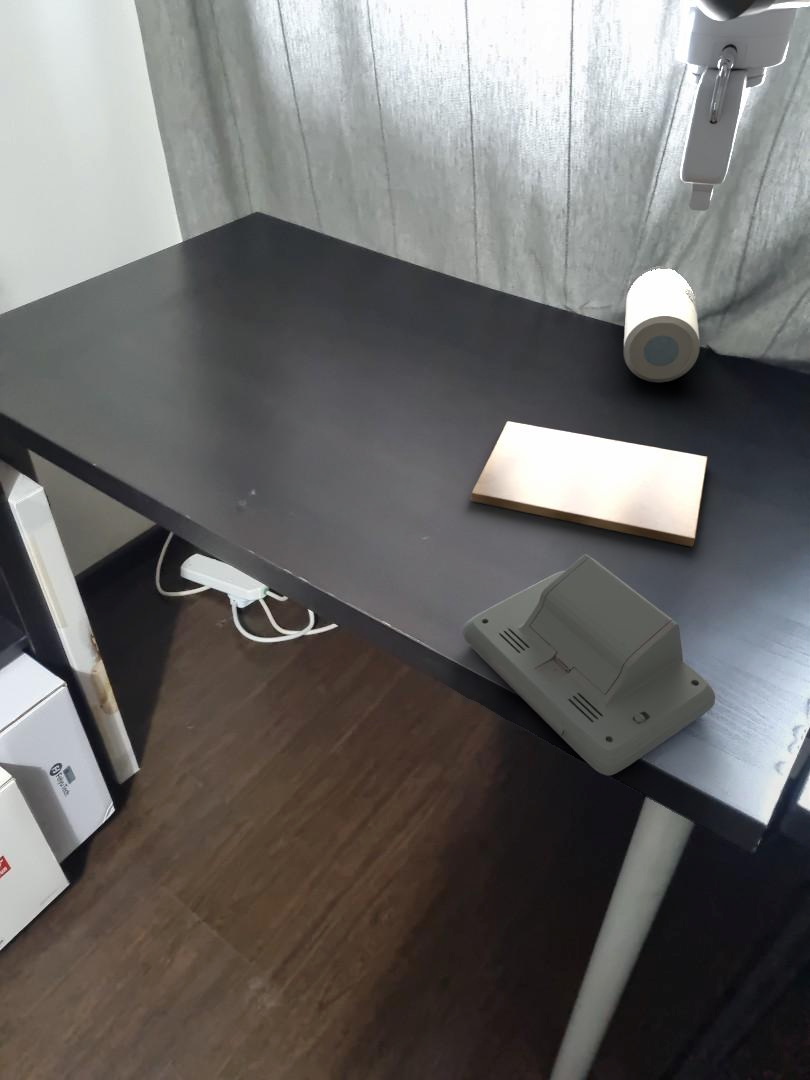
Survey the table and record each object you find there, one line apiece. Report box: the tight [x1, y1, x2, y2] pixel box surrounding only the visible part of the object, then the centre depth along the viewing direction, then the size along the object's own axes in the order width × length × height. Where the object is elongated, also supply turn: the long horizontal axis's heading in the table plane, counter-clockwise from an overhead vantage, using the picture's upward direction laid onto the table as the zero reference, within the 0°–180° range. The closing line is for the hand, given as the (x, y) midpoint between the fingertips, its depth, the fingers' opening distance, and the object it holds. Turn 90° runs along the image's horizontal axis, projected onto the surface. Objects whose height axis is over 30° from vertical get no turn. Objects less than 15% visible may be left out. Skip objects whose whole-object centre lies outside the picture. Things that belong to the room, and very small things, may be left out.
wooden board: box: [470, 420, 708, 548], centre depth 78 cm, size 20×13×1 cm, turn 70°
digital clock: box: [461, 553, 716, 776], centre depth 59 cm, size 16×9×11 cm
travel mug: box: [623, 266, 701, 383], centre depth 97 cm, size 8×8×18 cm
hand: (699, 205), depth 78 cm, fingers closed
